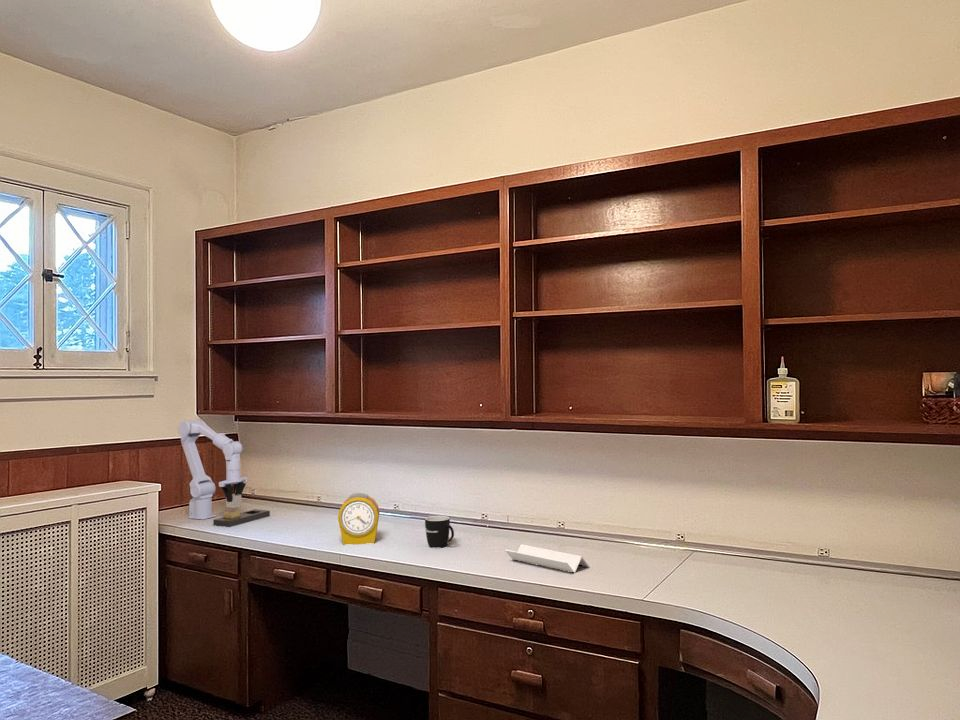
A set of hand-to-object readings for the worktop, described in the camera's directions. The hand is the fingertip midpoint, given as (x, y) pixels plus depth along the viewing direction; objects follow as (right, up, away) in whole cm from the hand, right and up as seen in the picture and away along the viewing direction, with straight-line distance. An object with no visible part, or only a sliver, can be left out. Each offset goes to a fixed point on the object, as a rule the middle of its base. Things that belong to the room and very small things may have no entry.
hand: (233, 500), depth 321 cm
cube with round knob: (0, -3, 0) cm, 3 cm away
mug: (+93, -7, -53) cm, 108 cm away
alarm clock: (+62, -7, -44) cm, 77 cm away
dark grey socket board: (+4, -8, -1) cm, 9 cm away
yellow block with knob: (+1, -9, -6) cm, 11 cm away
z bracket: (+129, -6, -80) cm, 153 cm away
